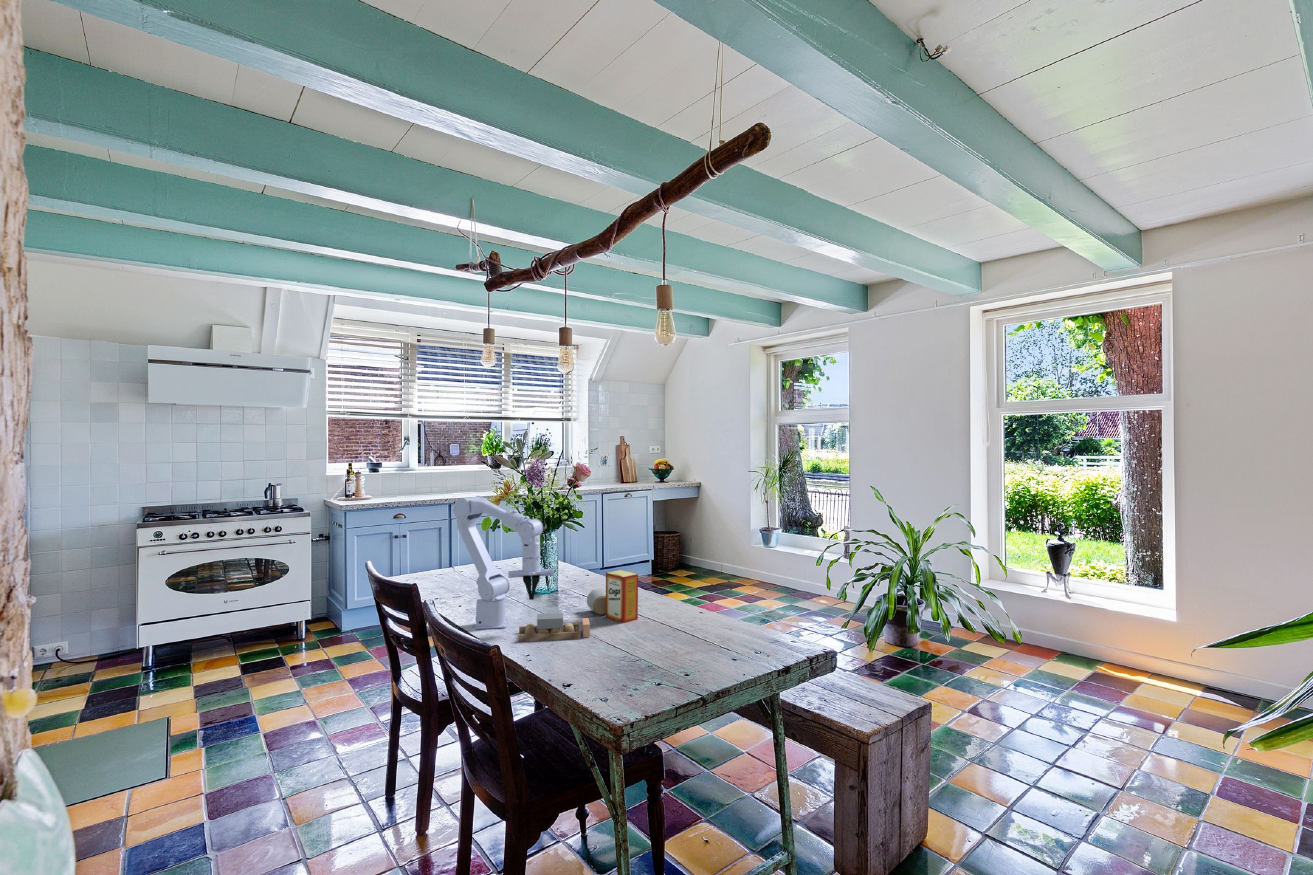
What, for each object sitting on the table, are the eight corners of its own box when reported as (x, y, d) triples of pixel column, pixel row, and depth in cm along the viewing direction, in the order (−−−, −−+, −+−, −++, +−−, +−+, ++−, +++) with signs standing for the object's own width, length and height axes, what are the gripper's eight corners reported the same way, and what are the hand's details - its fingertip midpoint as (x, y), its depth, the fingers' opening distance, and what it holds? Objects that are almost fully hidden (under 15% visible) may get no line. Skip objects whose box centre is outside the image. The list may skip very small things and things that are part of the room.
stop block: (583, 637, 199) (583, 624, 199) (581, 630, 206) (582, 618, 206) (589, 636, 199) (589, 624, 199) (588, 630, 206) (588, 617, 206)
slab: (537, 628, 197) (537, 619, 197) (537, 623, 202) (537, 613, 202) (563, 627, 198) (563, 618, 198) (562, 622, 204) (562, 612, 204)
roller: (575, 636, 199) (573, 627, 199) (566, 638, 198) (564, 629, 198) (574, 630, 205) (572, 621, 205) (565, 632, 204) (563, 623, 204)
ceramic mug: (593, 616, 221) (593, 595, 221) (586, 610, 228) (586, 589, 228) (621, 614, 225) (622, 592, 225) (614, 608, 233) (614, 587, 233)
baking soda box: (605, 617, 221) (605, 571, 221) (619, 613, 225) (620, 568, 225) (623, 623, 214) (623, 576, 214) (637, 619, 218) (638, 573, 218)
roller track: (518, 641, 194) (518, 631, 194) (519, 632, 203) (519, 622, 203) (580, 638, 197) (580, 628, 197) (578, 629, 206) (578, 619, 206)
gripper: (507, 560, 200) (508, 603, 200) (554, 558, 202) (554, 600, 202) (508, 556, 206) (509, 597, 206) (553, 554, 209) (554, 595, 209)
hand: (531, 598), depth 205 cm, fingers closed
